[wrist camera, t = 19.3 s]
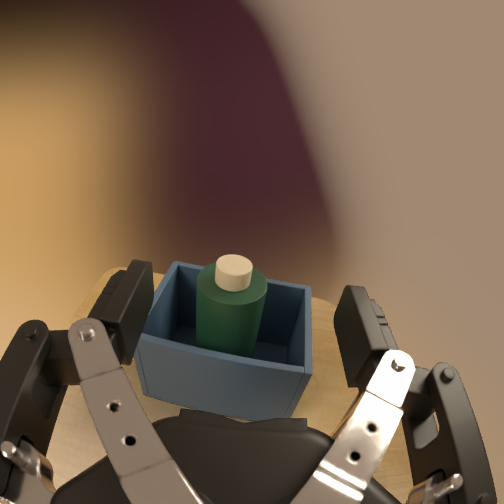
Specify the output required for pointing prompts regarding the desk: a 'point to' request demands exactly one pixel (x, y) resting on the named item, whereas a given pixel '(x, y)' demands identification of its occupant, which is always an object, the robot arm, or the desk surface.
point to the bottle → (229, 306)
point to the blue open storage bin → (221, 364)
